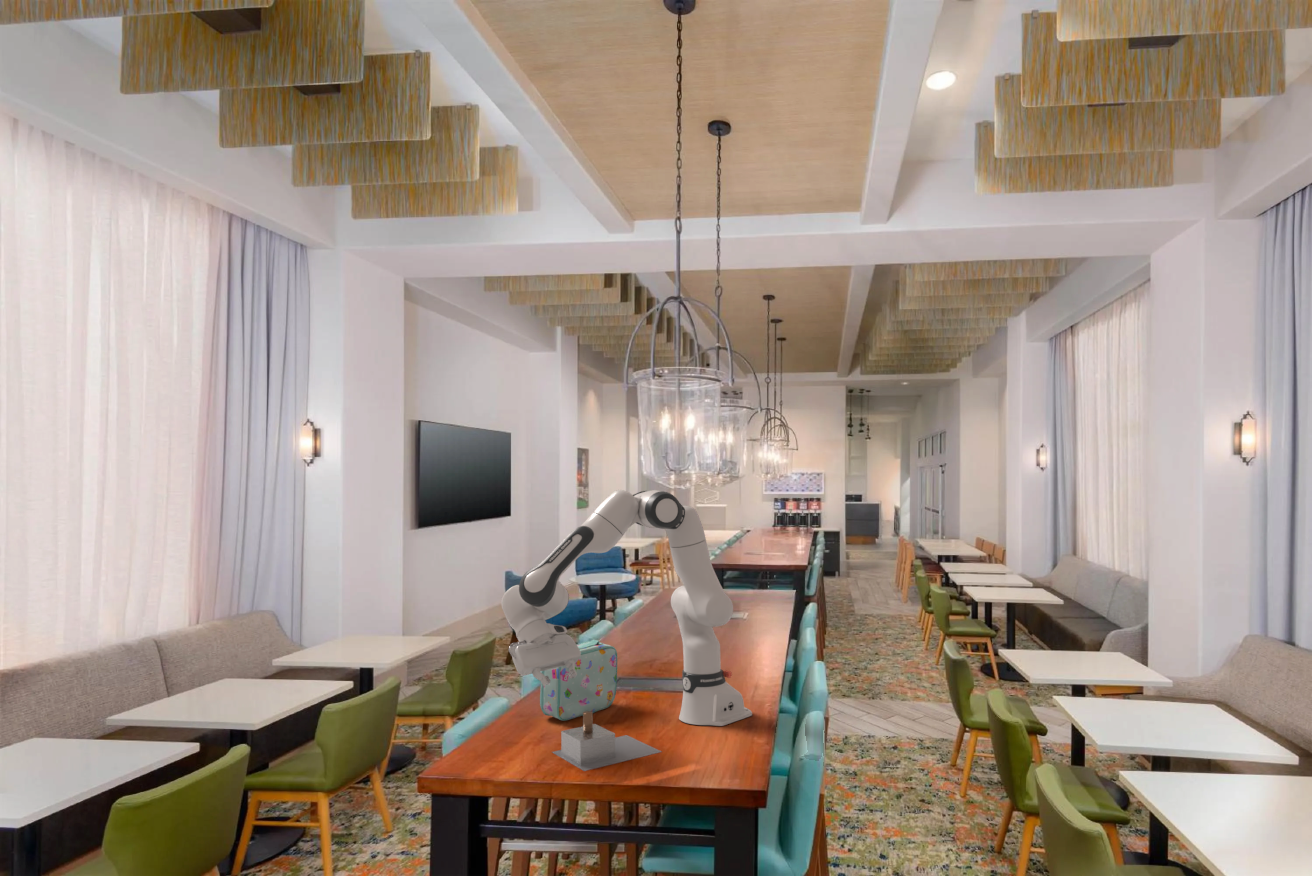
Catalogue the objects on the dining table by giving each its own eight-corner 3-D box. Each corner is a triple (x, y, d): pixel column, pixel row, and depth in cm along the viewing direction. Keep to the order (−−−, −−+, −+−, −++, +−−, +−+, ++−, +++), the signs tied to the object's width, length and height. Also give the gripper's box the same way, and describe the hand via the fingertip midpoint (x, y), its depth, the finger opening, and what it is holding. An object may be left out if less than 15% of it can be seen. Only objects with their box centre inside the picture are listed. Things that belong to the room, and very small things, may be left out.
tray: (626, 739, 221) (626, 723, 221) (662, 756, 207) (661, 739, 207) (551, 756, 208) (551, 739, 208) (584, 776, 194) (584, 757, 194)
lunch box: (598, 700, 261) (597, 633, 262) (621, 705, 254) (620, 637, 255) (536, 720, 240) (536, 647, 241) (560, 726, 234) (559, 651, 235)
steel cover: (595, 747, 211) (594, 704, 212) (615, 757, 203) (614, 713, 204) (561, 754, 205) (561, 711, 206) (580, 766, 197) (580, 720, 198)
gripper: (511, 637, 210) (535, 680, 203) (569, 625, 225) (594, 666, 218) (500, 652, 213) (524, 695, 206) (559, 639, 228) (583, 680, 221)
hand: (560, 680), depth 212 cm, fingers open, 8 cm apart
